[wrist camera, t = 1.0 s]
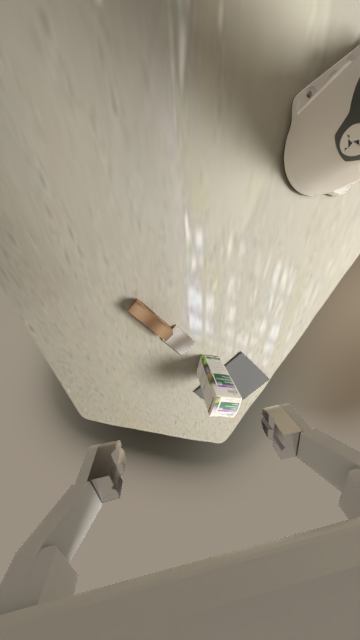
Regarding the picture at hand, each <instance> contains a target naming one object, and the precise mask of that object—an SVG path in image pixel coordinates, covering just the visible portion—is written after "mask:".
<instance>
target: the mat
mask: <svg viewBox="0 0 360 640" xmlns="http://www.w3.org/2000/svg"><path fill="white" fill-rule="evenodd" d="M225 368H226V370H227V372H228V373H229V375H230V377H231V379H232V381H233V382H234V384H235V386H236V388H237V390H238V391H239V393H240V395H241V397H242V400H243V399H245V398H246V397H247V396H248V395H250V394H251V393H252V392H254V391H255V390H256V389H258V388H259V387H260V386H261V385H263V384H264V383H265V382H267V381H268V380H269V378H268V377H267V376H266V375H265V374H264V373H263V372H262V371H261V370H260V369H259V368H258V367H257V366H256V365H254V364H253V363H252V362H251V361H250V360H249V359H248V358H247V357H246V356H245V355H244V354H243V353H242V352H240V353H239V354H238V355H237V356H235V357H234V358H233V359H232V360H231V361H229V362H228V363H227V364H226V365H225ZM195 393H196V394H197V395H199V396H200V397H202V398H203V399H204V396H203V392H202V389H201V386H200V387H199V388H197V389H196V390H195ZM204 400H205V399H204Z"/></svg>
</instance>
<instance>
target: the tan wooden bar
mask: <svg viewBox="0 0 360 640" xmlns="http://www.w3.org/2000/svg"><path fill="white" fill-rule="evenodd" d="M128 312H130V313H131V314H132V315H133V316H135V317H136V318H137V319H138V320H140V321H141V322H142V323H143V324H144V325H146V326H147V327H148V328H149V329H151V330H152V331H153V332H154V333H156V334H157V335H158V336H159V337H161V338H162V340H163V341H164V342H166V343H167V344H168V345H169V346H171V347H172V348H173V349H174V350H176V351H177V352H178V353H179V354H181V355H183V354H184V353H185V352H186V351H187V350H188V349H189V348H190V347H191V346H192V345H194V344H195V341H194V340H193V339H192V338H190V337H189V336H188V335H187V334H186V333H185V332H184V331H182V330H181V329H180V328H179V327H178V326H177V325H175V326H174V327H173V328H172V327H170V326H169V325H168V324H167V323H166V322H164V321H163V320H162V319H161V318H160V317H159V316H157V315H156V314H155V313H154V312H153V311H152V310H150V309H149V308H148V307H147V306H146V305H145V304H143V303H142V302H141V301H140V300H139V299H137V300H136V301H135V302H134V303H133V304H132V305H131V306H130V308H129V310H128Z"/></svg>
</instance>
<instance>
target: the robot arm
mask: <svg viewBox="0 0 360 640" xmlns="http://www.w3.org/2000/svg"><path fill="white" fill-rule="evenodd" d="M307 95H308V97H309V98H308V97H307ZM284 165H285V171H286V175H287V178H288V180H289V182H290V183H291V185H292V186H293V187H294V189H295V190H297V191H298V192H299V193H301V194H304V195H308V196H316V195H321V194H329V195H332V196H339V195H342V194H344V193H345V192H346V191H347V190H348V189H349V187H350V186H351V185H352V184H353V183H355V182H357V181H359V180H360V43H359V44H358V46H357V47H356V48H354V49H353V50H352V51H351V52H349V53H348V54H347V55H346V56H344V57H343V58H342V59H340V60H339V61H338V62H337V63H335V64H334V65H333V66H332V67H330V68H329V69H328V70H326V71H325V72H324V73H323V74H321V75H320V76H319V77H318V78H316V79H315V80H314V81H313V82H311V83H310V84H309V85H307V86H306V87H305V88H304V89H302V90H301V91H300V92H299V93H298V94H297V95H296V96H295V98H294V100H293V105H292V122H291V127H290V130H289V133H288V136H287V140H286V144H285V151H284ZM262 415H263V418H262V419H261V423H262V427H263V430H264V432H265V434H266V436H267V437H268V438H269V439H271V440H272V441H273V447H274V449H275V450H276V452H277V454H278V455H279V457H280V458H281V459H285V458H290V457H295V456H297V458H299V459H300V460H301V461H302V462H304V463H305V464H306V465H308V466H309V467H310V468H311V469H313V470H314V471H315V472H317V473H318V474H319V475H320V476H322V477H323V478H324V479H325V480H327V481H328V482H329V483H331V484H332V485H333V486H334V487H336V488H337V489H338V490H340V491H341V492H342V494H341V496H340V499H339V507H340V508H341V510H342V511H343V512H344V514H345V515H346V517H347V518H348V519H349V520H346V521H342V522H339V523H335V524H331V525H328V526H324V527H321V528H317V529H313V530H309V531H306V532H302V533H299V534H295V535H291V536H288V537H284V538H280V539H276V540H273V541H269V542H265V543H262V544H258V545H255V546H251V547H247V548H243V549H240V550H236V551H232V552H229V553H225V554H222V555H218V556H214V557H210V558H207V559H203V560H200V561H196V562H192V563H188V564H185V565H181V566H177V567H174V568H170V569H166V570H163V571H159V572H156V573H152V574H148V575H144V576H141V577H137V578H134V579H130V580H126V581H122V582H119V583H115V584H112V585H108V586H104V587H100V588H97V589H93V590H90V591H86V592H82V593H78V594H75V595H74V592H75V588H76V584H77V580H78V576H79V575H78V572H77V570H76V569H75V568H74V567H73V566H72V564H71V563H70V561H71V559H72V558H73V555H74V554H75V552H76V550H77V549H78V547H79V545H80V543H81V541H82V540H83V538H84V536H85V534H86V533H87V531H88V529H89V527H90V526H91V524H92V522H93V520H94V519H95V517H96V515H97V513H98V511H99V510H100V508H101V506H102V503H104V502H108V501H112V500H115V499H118V498H120V495H121V489H122V483H123V481H122V479H121V475H122V474H123V472H124V470H125V452H124V450H123V449H121V442H120V441H115V442H109V443H104V444H99V445H94V446H90V448H89V449H88V451H87V454H86V456H85V459H84V461H83V464H82V467H81V469H80V472H79V475H78V478H77V480H76V483H75V484H74V485H72V486H71V487H70V488H69V489H68V490H67V492H66V493H65V494H64V495H63V496H62V498H61V499H60V500H59V501H58V503H57V504H56V505H55V506H54V507H53V509H52V510H51V511H50V512H49V513H48V515H47V516H46V517H45V518H44V519H43V521H42V522H41V523H40V524H39V526H38V527H37V528H36V529H35V530H34V532H33V533H32V534H31V535H30V537H29V538H28V539H27V540H26V541H25V542H24V544H23V545H22V546H21V547H20V548H19V550H18V551H17V552H16V553H15V555H14V557H13V560H12V562H11V564H10V566H9V568H8V570H7V572H6V574H5V576H4V578H3V580H2V582H1V584H0V640H360V452H359V451H357V450H355V449H354V448H351V447H350V446H348V445H346V444H344V443H342V442H340V441H338V440H336V439H335V438H333V437H331V436H329V435H327V434H325V433H323V432H321V431H319V430H318V429H312V427H311V426H310V425H309V424H308V423H307V422H306V421H305V420H304V419H303V418H302V417H301V415H300V414H299V413H298V412H297V411H296V410H295V409H294V408H293V407H292V406H291V405H290V404H289V403H286V404H282V405H276V406H272V407H268V408H263V409H262Z"/></svg>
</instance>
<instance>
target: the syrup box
mask: <svg viewBox="0 0 360 640" xmlns="http://www.w3.org/2000/svg"><path fill="white" fill-rule="evenodd" d="M197 375H198V378H199V382H200V385H201V389H202V392H203V396H204V399H205V403H206V406H207V410H208V413H209V416H218V417H231V418H234V417H235V415H236V413H237V411H238V409H239V407H240V404H241V401H242V397H241V395H240V393H239V391H238V390H237V388H236V386H235V384H234V382H233V381H232V379H231V377H230V375H229V373H228V372H227V370H226V368H225V366H224V364H223V362H222V360H221V358H220V357H214V356H207V355H201V357H200V360H199V364H198V368H197Z"/></svg>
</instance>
